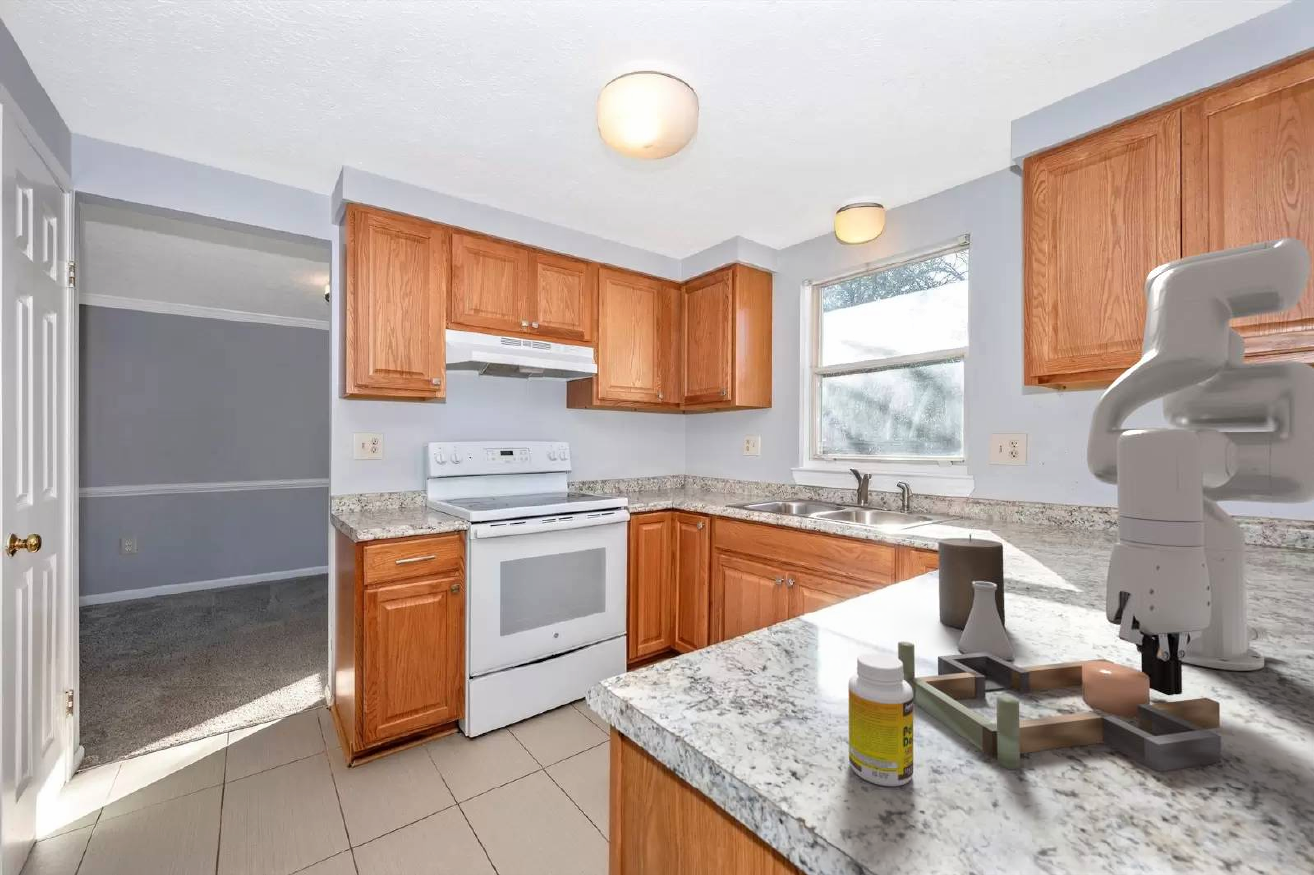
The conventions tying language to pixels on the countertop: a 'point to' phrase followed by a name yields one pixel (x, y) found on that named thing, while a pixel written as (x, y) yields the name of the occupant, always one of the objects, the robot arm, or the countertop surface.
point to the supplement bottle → (881, 721)
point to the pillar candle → (968, 576)
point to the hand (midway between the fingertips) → (1161, 689)
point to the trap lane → (1158, 741)
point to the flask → (985, 625)
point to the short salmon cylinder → (1114, 688)
